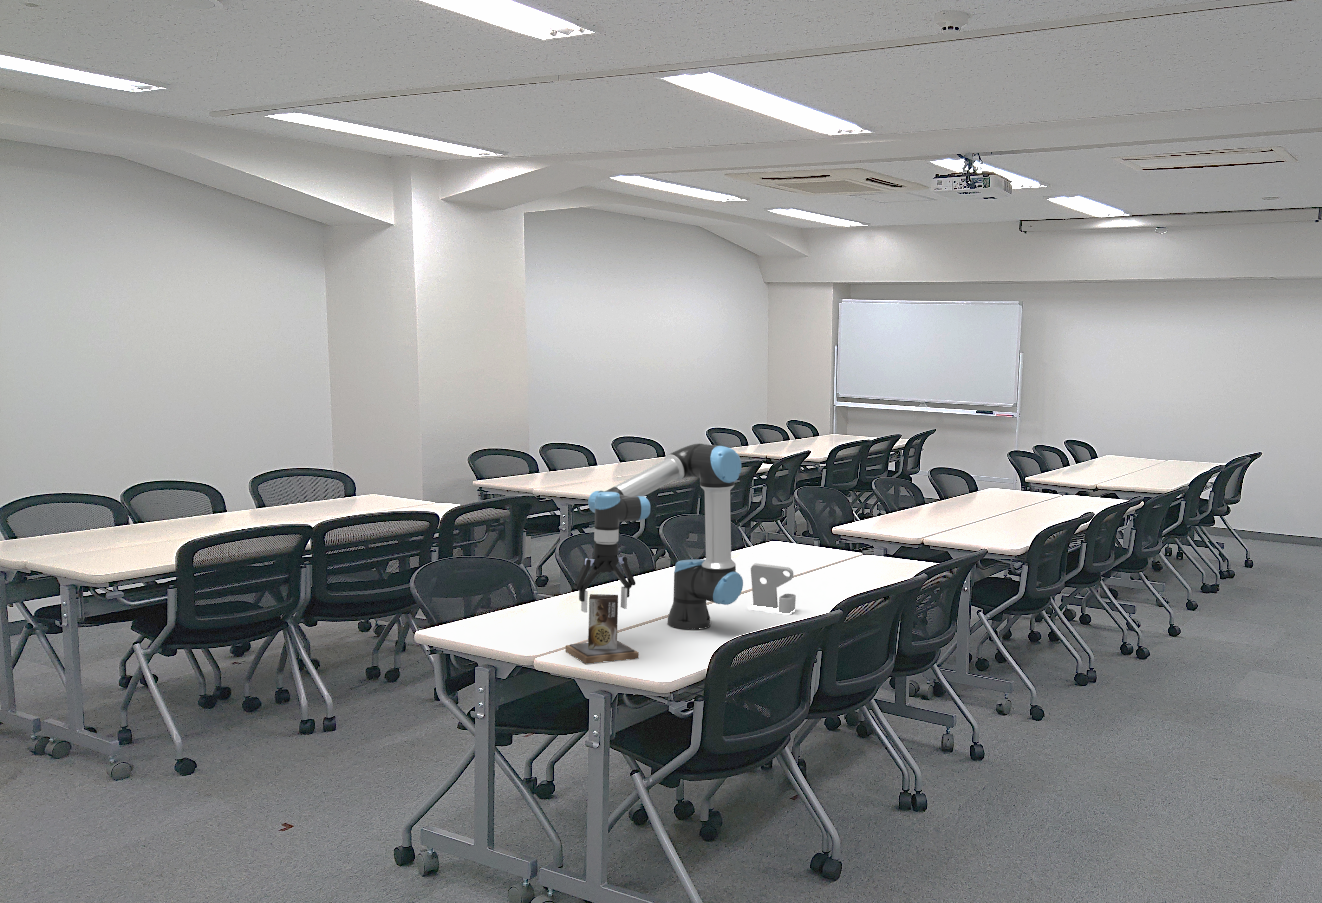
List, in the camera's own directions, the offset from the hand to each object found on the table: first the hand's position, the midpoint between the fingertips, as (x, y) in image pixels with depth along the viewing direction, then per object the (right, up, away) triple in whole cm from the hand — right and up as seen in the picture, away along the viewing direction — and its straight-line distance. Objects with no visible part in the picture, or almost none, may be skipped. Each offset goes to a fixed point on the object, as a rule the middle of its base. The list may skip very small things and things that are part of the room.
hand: (604, 609), depth 336 cm
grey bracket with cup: (+59, -11, +73) cm, 95 cm away
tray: (-1, -14, +1) cm, 14 cm away
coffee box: (-1, -12, +1) cm, 12 cm away
